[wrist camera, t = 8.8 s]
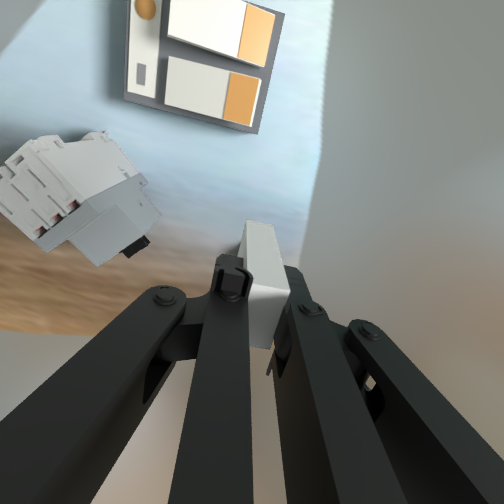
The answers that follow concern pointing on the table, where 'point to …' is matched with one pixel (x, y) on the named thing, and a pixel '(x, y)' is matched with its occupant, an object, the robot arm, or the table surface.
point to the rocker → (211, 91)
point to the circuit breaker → (77, 196)
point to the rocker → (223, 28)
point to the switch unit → (161, 47)
